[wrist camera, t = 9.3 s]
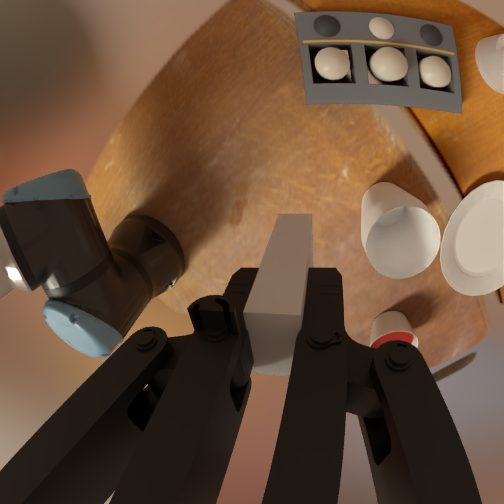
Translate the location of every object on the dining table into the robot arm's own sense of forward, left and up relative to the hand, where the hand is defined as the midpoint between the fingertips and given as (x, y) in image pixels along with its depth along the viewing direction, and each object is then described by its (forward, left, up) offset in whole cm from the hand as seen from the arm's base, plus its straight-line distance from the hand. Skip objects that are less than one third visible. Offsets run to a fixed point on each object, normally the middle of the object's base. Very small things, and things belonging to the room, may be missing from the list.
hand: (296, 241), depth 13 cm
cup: (+10, -8, -27) cm, 30 cm away
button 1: (+3, +11, -26) cm, 28 cm away
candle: (+14, -31, -27) cm, 43 cm away
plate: (+30, -13, -27) cm, 42 cm away
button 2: (+10, +11, -24) cm, 28 cm away
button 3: (+16, +11, -26) cm, 33 cm away
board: (+10, +12, -26) cm, 31 cm away
